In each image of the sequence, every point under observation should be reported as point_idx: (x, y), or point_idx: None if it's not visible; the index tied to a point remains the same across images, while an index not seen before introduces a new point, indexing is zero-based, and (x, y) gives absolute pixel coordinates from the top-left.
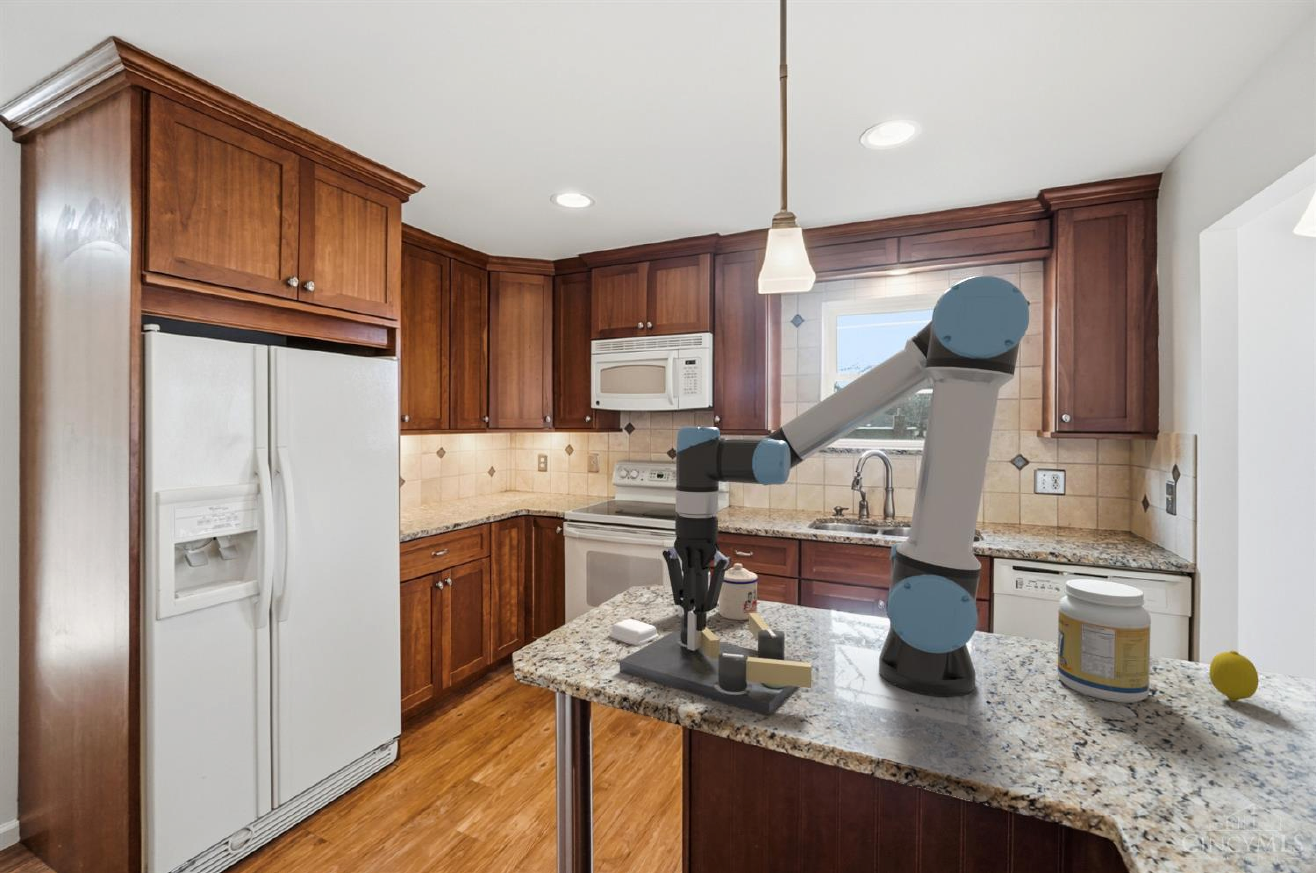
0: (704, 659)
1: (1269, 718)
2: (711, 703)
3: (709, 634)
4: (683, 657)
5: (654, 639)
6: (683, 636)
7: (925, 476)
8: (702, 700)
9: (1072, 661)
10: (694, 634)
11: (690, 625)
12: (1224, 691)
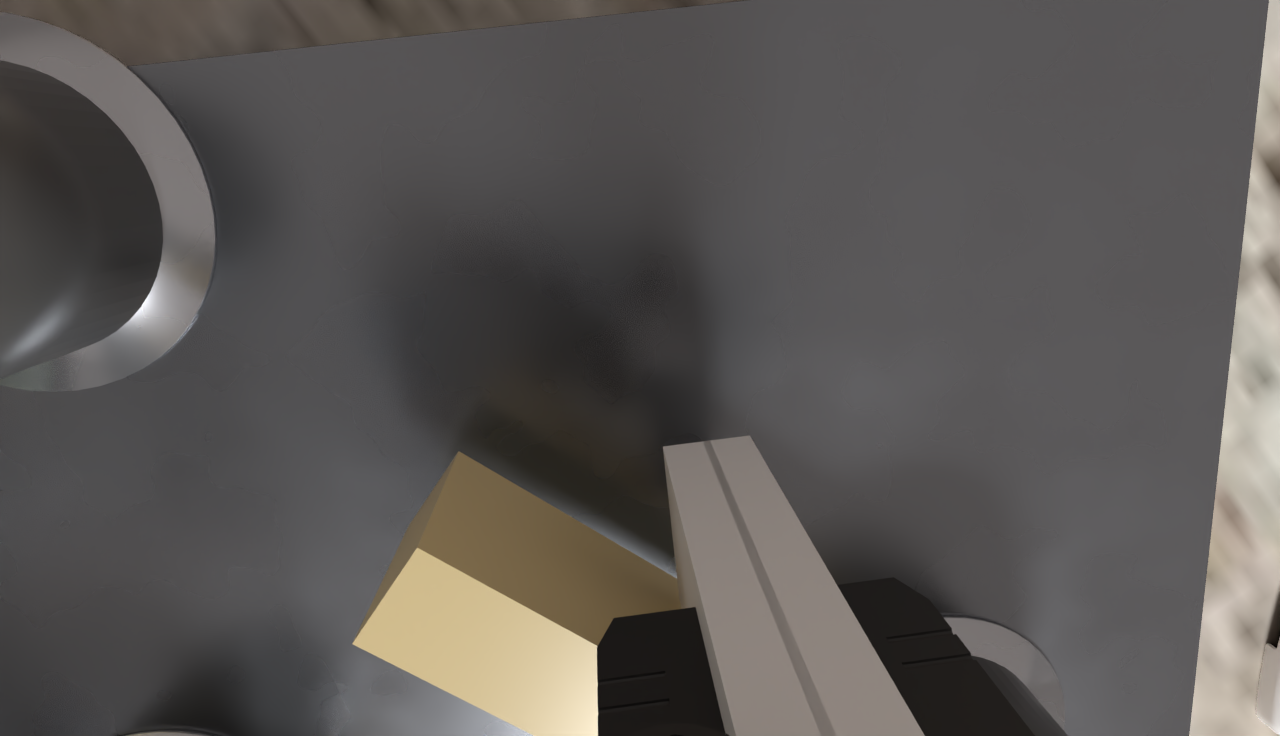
0: (622, 522)
1: None
2: (167, 11)
3: (568, 694)
4: (797, 432)
5: (1266, 668)
6: None
7: None
8: (263, 7)
9: None
10: (686, 536)
11: (781, 590)
12: None
